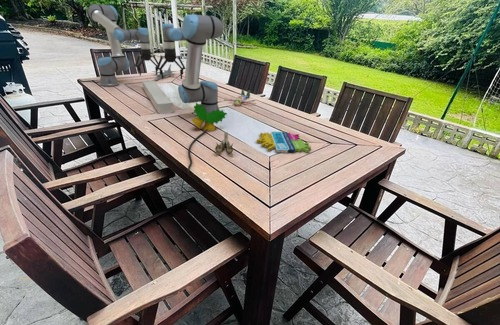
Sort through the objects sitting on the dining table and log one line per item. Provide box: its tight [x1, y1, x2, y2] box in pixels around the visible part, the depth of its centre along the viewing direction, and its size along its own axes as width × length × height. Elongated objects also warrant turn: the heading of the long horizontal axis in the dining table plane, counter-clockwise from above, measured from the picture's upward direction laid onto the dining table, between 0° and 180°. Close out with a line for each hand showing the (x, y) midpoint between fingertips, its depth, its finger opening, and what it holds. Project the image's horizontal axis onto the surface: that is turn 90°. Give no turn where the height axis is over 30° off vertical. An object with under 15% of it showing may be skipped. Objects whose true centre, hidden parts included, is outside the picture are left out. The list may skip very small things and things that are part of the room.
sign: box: [256, 131, 312, 154], centre depth 152 cm, size 26×2×30 cm
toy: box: [223, 89, 257, 106], centre depth 219 cm, size 28×7×30 cm
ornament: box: [191, 102, 228, 132], centre depth 162 cm, size 21×8×15 cm, turn 105°
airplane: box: [151, 64, 177, 81], centre depth 281 cm, size 38×31×10 cm
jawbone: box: [214, 131, 234, 156], centre depth 136 cm, size 9×15×10 cm
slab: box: [141, 79, 174, 114], centre depth 211 cm, size 72×10×7 cm, turn 27°
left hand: (148, 75), depth 228 cm, fingers open, 13 cm apart
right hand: (172, 79), depth 195 cm, fingers open, 13 cm apart
